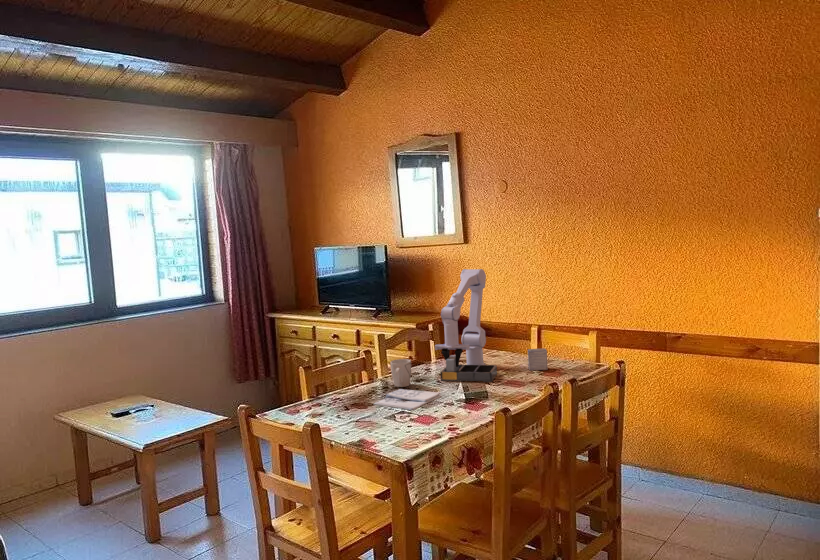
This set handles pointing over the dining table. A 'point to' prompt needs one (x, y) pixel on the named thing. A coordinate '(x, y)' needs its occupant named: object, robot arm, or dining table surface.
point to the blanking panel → (451, 364)
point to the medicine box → (537, 359)
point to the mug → (401, 372)
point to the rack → (471, 373)
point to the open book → (412, 396)
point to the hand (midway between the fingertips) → (453, 366)
